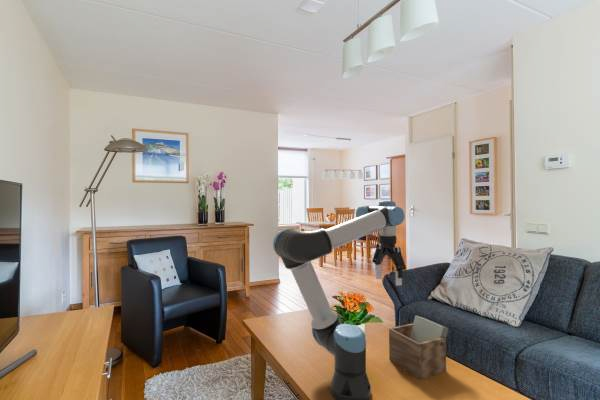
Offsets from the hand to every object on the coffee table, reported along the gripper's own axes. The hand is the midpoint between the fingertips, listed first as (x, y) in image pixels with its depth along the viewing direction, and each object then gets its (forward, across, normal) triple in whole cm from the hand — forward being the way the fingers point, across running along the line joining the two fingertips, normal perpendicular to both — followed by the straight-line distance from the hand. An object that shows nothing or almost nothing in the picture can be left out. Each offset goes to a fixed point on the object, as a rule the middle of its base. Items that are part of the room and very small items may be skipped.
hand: (388, 281), depth 147 cm
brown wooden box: (+35, -10, -7) cm, 37 cm away
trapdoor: (+26, -10, -15) cm, 32 cm away
